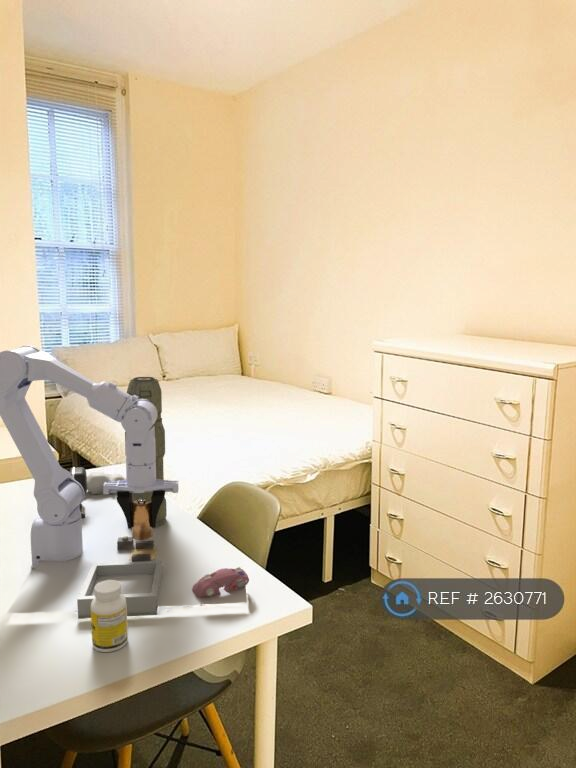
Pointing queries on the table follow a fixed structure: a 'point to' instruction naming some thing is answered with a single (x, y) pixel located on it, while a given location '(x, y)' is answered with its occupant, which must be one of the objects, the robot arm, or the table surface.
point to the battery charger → (80, 477)
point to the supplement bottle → (109, 617)
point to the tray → (135, 602)
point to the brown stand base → (137, 549)
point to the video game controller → (220, 582)
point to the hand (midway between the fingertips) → (142, 526)
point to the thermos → (152, 392)
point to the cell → (142, 519)
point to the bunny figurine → (101, 481)
